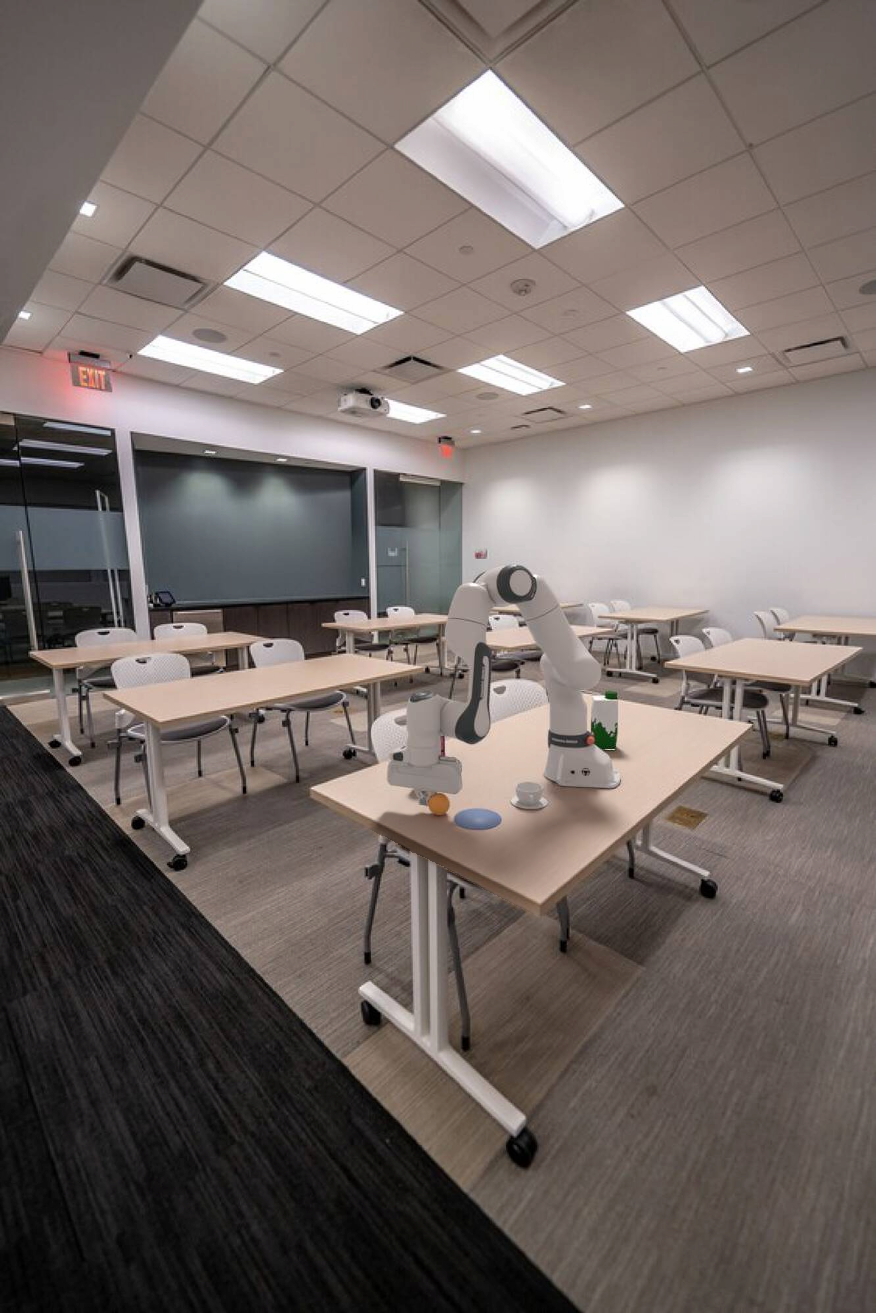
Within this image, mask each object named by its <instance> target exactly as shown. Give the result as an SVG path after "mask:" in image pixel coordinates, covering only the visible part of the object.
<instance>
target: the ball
mask: <svg viewBox="0 0 876 1313" xmlns="http://www.w3.org/2000/svg"><path fill="white" fill-rule="evenodd" d="M450 806H451V802H450V799H449V797H448V796H447V795H446V793H442V792H435V793H434V794H433V795H432V796H431V797H430V799H429V802H428V806H427V807H428V809H429V811H430V813H432V814H434V815H436V816H443V815H445V814H447V812H448V811H449V810H450Z"/></svg>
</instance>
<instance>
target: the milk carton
mask: <svg viewBox="0 0 876 1313" xmlns="http://www.w3.org/2000/svg"><path fill="white" fill-rule="evenodd" d="M618 698H619V697H618V691H615V690H614V691H612V690H610V691H609V690H607V691H605V694H604V695H601V694H600V695H592V698H591V699H592V700H591V705H590V706H591V707H590V709H591V710H590V733H592V732H593V735H594V743H593V744H595V745H596V746H597V747H598V748H600V749H615V748H617V742H618V741H617V740H618V733H619V732H618V731H619V730H618V728H619V727H618V726H619V701H618V700H619V699H618Z"/></svg>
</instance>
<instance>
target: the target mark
mask: <svg viewBox="0 0 876 1313" xmlns="http://www.w3.org/2000/svg"><path fill="white" fill-rule="evenodd" d="M453 822H454V823H455V824H456V825H458V826H459V827H461V828H463V829H467V830H471V831H472V830H474V831H481V830H482V831H483V830H489V829H494V828H496V827H497V826H499V825H500V824H501V823H502V816H501V815H500V814H499V813H498V812H496V811H493V810H491V809H486V808H468V809H464V810H461V811H459V812H457V813H456V814H455V815H454V817H453Z"/></svg>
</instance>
